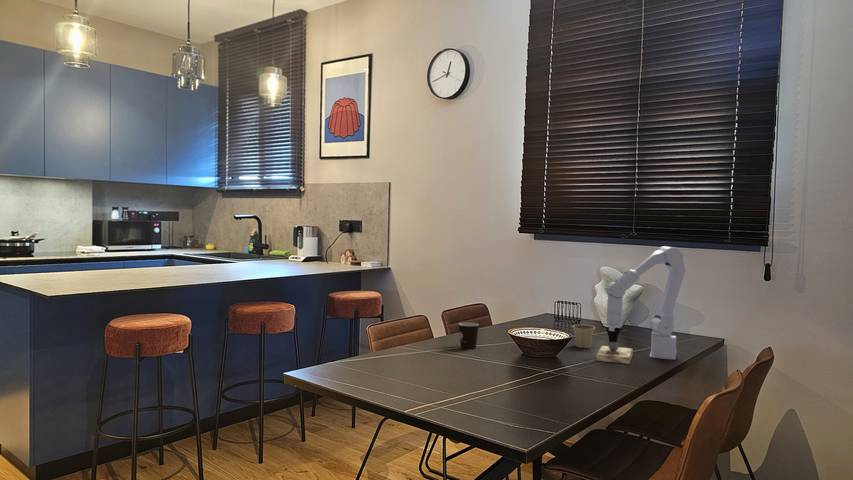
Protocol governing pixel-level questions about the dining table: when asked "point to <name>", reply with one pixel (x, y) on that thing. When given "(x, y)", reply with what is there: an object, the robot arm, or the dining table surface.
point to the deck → (614, 355)
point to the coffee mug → (468, 335)
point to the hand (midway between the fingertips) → (612, 346)
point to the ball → (613, 346)
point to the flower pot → (583, 335)
